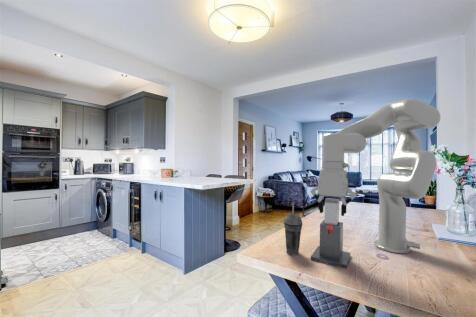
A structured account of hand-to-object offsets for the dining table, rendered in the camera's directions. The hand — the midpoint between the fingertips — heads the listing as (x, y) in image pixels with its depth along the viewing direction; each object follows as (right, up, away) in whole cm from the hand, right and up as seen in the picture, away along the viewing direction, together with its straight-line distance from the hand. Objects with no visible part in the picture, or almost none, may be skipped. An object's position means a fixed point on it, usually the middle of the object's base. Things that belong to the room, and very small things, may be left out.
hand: (331, 213), depth 87 cm
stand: (0, -17, 0) cm, 17 cm away
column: (0, -15, 0) cm, 15 cm away
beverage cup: (-14, -17, +5) cm, 22 cm away
